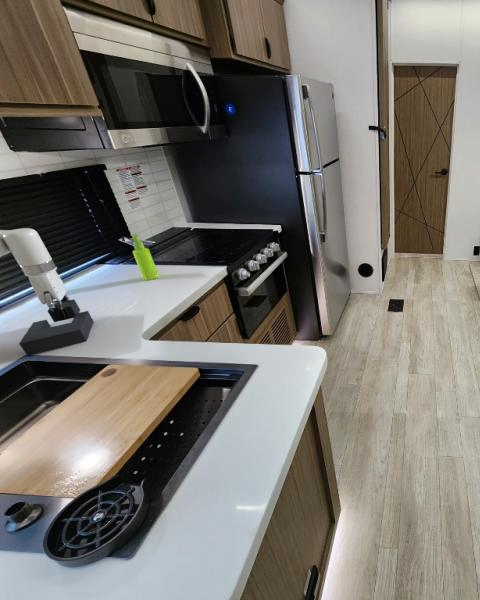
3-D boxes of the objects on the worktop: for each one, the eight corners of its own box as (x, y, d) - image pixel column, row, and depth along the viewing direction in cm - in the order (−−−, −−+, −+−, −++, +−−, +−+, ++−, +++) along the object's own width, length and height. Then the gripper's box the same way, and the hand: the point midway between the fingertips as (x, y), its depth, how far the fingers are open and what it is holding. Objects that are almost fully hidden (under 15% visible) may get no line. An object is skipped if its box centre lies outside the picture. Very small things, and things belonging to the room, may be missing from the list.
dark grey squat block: (54, 322, 112) (47, 311, 110) (58, 314, 116) (51, 303, 114) (77, 317, 115) (70, 306, 112) (80, 310, 119) (74, 299, 117)
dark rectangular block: (27, 355, 100) (18, 343, 98) (40, 333, 110) (33, 322, 108) (86, 341, 106) (80, 329, 104) (93, 321, 117) (88, 310, 115)
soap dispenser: (157, 273, 154) (140, 231, 145) (160, 277, 150) (144, 234, 141) (142, 276, 151) (124, 234, 141) (145, 281, 146) (127, 237, 137)
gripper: (31, 261, 111) (58, 307, 120) (13, 279, 98) (45, 329, 107) (61, 257, 115) (85, 302, 123) (47, 273, 102) (75, 323, 110)
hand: (66, 314), depth 115 cm, fingers closed on dark grey squat block, 6 cm apart
